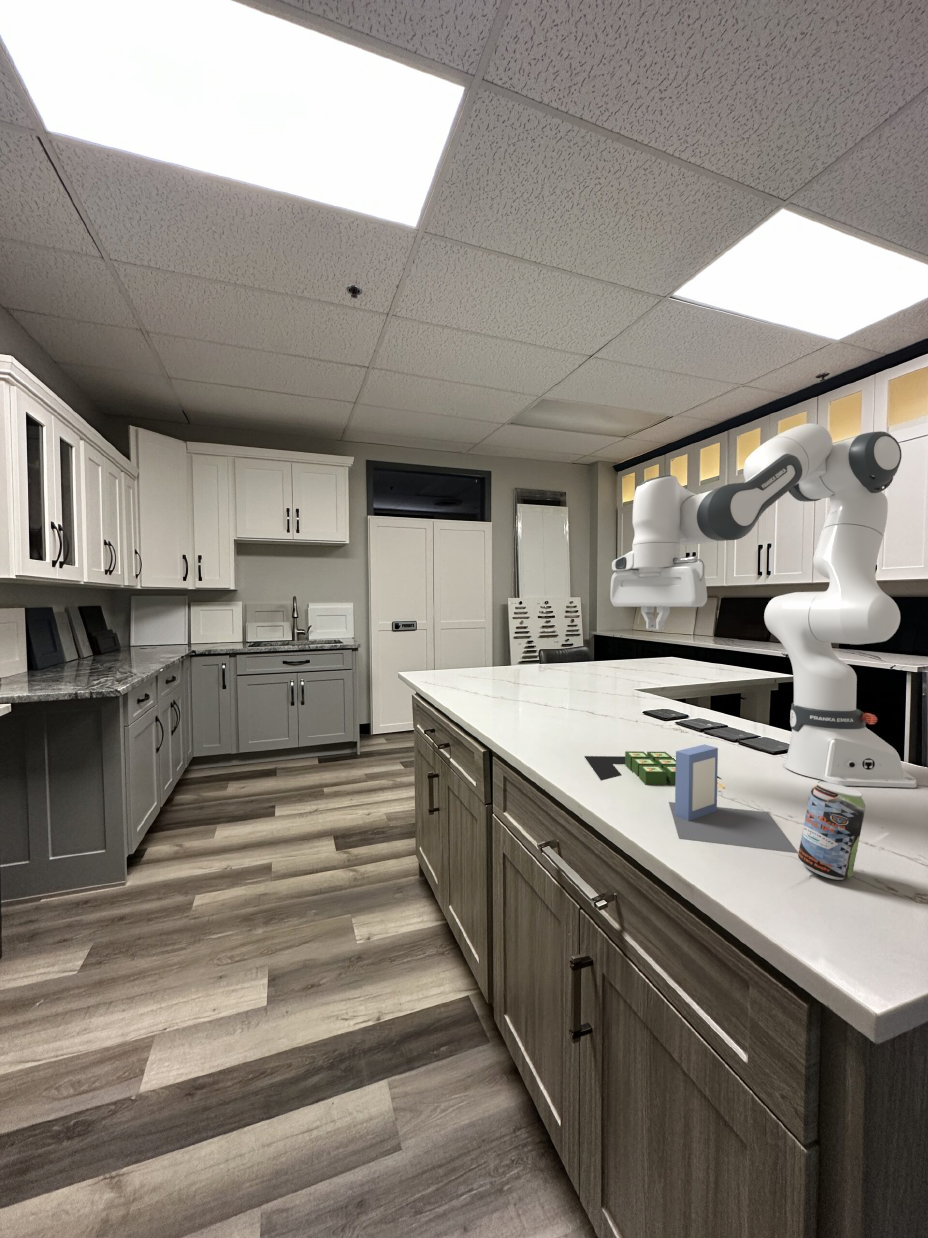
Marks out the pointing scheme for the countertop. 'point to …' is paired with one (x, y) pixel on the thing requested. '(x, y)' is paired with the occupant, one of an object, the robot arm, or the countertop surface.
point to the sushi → (638, 766)
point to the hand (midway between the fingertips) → (655, 630)
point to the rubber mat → (734, 829)
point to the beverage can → (832, 830)
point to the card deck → (696, 782)
